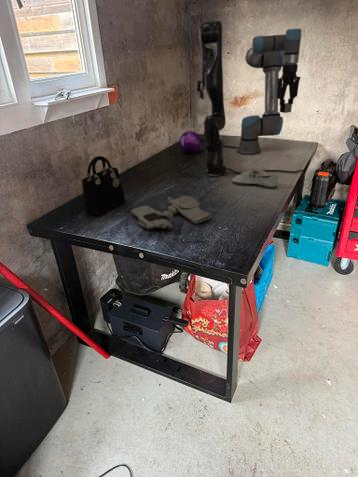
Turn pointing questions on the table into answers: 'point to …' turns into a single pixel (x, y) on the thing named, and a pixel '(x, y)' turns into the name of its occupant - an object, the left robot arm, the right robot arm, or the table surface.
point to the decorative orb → (190, 142)
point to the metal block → (287, 107)
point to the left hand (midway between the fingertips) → (208, 98)
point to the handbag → (102, 188)
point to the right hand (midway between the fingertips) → (285, 111)
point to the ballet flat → (256, 179)
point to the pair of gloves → (170, 213)
